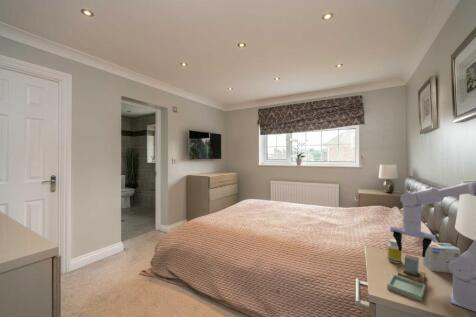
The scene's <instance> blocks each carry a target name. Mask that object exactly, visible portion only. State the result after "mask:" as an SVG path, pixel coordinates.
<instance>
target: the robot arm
mask: <svg viewBox="0 0 476 317" xmlns="http://www.w3.org/2000/svg"><path fill="white" fill-rule="evenodd" d="M467 194H468V195H471V196H473V197H476V181H470V182H465V183H460V184H457V185H452V186H448V187H444V188H438V187H436V186H433V187H432V186H430V185H429V186H425V188H423V189H419V190H418V189H413V191H410V192H408V191H406V192H404V193H402V194H401V195H400V196H399V197H400V199H399V200H400V202H401V204H402V205H403V207H402V208H403V210H402V211H403V215H402V216H403V217H402V219H403V221H402V222H403V223H402V226H403V227H397V226H390V229H389V230H390V233H393V234H392V237H394V238H393V239H395V240H396V242H397V245H398V248H399V251H401V252H402V250H403V245H402V244H403V243H402V240H403V239H402V238H403V237H402V236H403V235H406V236H411V237H414V238H415V237H416V238H419V239H422V252H421V257H422V258H423V257H425V253H426V250H427V248H428V246H429V245H430V244H431V242H436V240H437V238H436V235H435V234H431V233H427V232H423V231H422V207H423V205H429V204H434V203H435V204H436V203H441V202H443V201H444V199H445V198H448V197H454V196H455V197H456V196H461V195H462V196H463V195H467ZM449 269H450V271H451V274H452V291H450V292H451V295H450V303H451V304H453V305H455V306H458V307H462V308H463V309H466V310H469V311H473V312H475V313H476V238H475V239H474V240H473V242H472V243H471V245H470V246H469V247H468V249H467V250H466V251H464V252H463V253H461V254H460V256H459V257H458V259H456V260H452V261H451V262H450V263H449Z"/></svg>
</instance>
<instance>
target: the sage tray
mask: <svg viewBox="0 0 476 317" xmlns="http://www.w3.org/2000/svg"><path fill="white" fill-rule="evenodd" d="M386 286H387V287H386V288H387V290H389V291H393V292H395V293H398V294H400V295H402V296H405V297H408V298H410V299H413V300H415V301H419V302H421V303H422V302H423V298H424V295H425V292H426V284H425V283H423V284H422V283H419V282H416V281H413V280H410V279H407V278H404V277H401V276H398V274H395V273H393V274H392V276H391V277H390V279H389V280H388V282H387V285H386Z"/></svg>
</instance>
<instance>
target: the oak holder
mask: <svg viewBox="0 0 476 317" xmlns="http://www.w3.org/2000/svg"><path fill="white" fill-rule="evenodd" d="M397 275H398V276H401V277H404V278H407V279H410V280H413V281H416V282H419V283H422V284H424V282H425V279H426V272H423V271H419V270H418V278H417V277H414V276H411V275H408V274H405V266H403V265H402V266H400V268H399V270H398V272H397Z"/></svg>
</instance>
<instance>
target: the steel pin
mask: <svg viewBox="0 0 476 317" xmlns="http://www.w3.org/2000/svg"><path fill="white" fill-rule="evenodd" d="M419 263H420V262H419V257H417V256H412V255H410V254H405V257H404V267H405V274H408V275H411V276H414V277H417V278H419V276H418V271H419Z"/></svg>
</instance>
